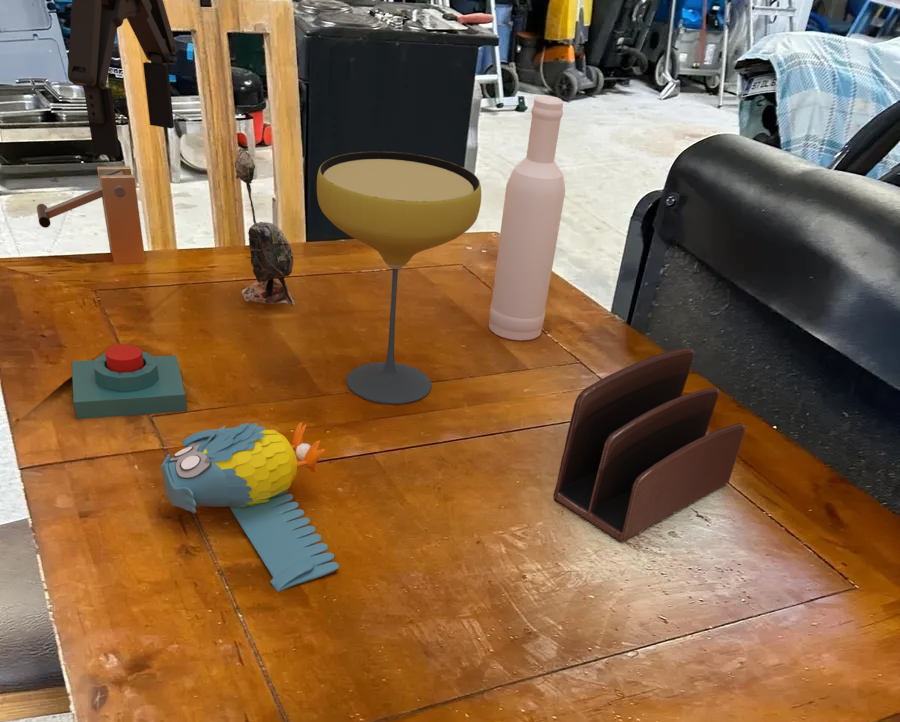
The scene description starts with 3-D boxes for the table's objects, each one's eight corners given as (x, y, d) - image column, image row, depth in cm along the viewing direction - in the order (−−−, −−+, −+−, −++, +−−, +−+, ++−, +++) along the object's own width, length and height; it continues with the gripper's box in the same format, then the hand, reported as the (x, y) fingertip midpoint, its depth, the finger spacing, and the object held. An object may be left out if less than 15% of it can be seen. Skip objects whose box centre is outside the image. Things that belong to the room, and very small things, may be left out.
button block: (77, 419, 99) (70, 387, 97) (75, 377, 106) (68, 346, 104) (187, 411, 103) (183, 379, 100) (178, 371, 110) (174, 341, 107)
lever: (44, 232, 122) (34, 215, 120) (42, 219, 126) (32, 202, 124) (133, 196, 123) (125, 179, 121) (128, 183, 127) (120, 167, 125)
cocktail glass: (486, 382, 115) (512, 179, 99) (405, 436, 103) (420, 214, 87) (375, 339, 122) (383, 141, 106) (287, 384, 110) (281, 170, 94)
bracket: (89, 284, 127) (72, 182, 118) (84, 261, 133) (66, 162, 124) (176, 280, 131) (165, 181, 122) (166, 257, 137) (155, 161, 128)
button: (108, 375, 100) (105, 361, 99) (106, 359, 103) (104, 345, 102) (145, 373, 102) (143, 359, 100) (142, 357, 104) (140, 343, 103)
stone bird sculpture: (255, 323, 122) (248, 169, 109) (230, 291, 129) (220, 143, 116) (311, 317, 125) (310, 166, 112) (283, 286, 133) (279, 141, 120)
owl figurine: (375, 488, 79) (210, 531, 73) (374, 563, 85) (221, 609, 79) (260, 354, 97) (119, 379, 90) (265, 424, 102) (133, 452, 96)
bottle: (525, 346, 125) (563, 109, 105) (477, 330, 127) (506, 96, 108) (551, 329, 130) (591, 100, 111) (504, 313, 133) (535, 87, 113)
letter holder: (551, 499, 96) (575, 381, 87) (661, 446, 107) (692, 336, 98) (621, 545, 91) (655, 424, 82) (729, 484, 102) (769, 371, 93)
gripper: (78, -84, 78) (114, 173, 92) (195, -95, 97) (210, 120, 110) (-2, -95, 78) (46, 162, 92) (130, -104, 97) (153, 111, 111)
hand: (136, 140), depth 101 cm, fingers open, 13 cm apart
